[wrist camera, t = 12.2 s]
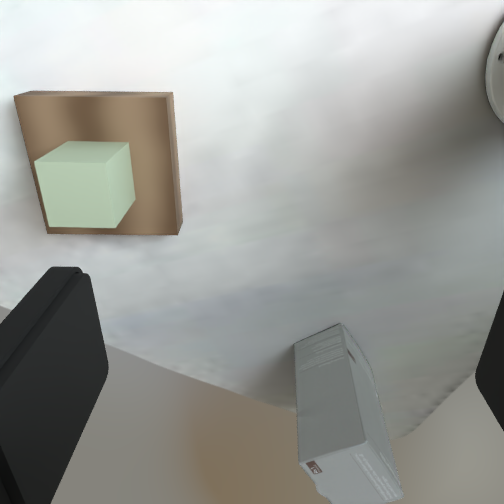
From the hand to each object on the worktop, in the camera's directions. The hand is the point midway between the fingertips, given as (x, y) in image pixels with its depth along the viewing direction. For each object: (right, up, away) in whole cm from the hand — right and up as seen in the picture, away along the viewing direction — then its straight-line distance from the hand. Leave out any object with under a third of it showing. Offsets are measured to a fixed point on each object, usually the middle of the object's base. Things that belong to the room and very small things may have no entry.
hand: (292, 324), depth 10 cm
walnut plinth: (-14, +10, +29) cm, 33 cm away
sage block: (-14, +9, +26) cm, 31 cm away
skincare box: (+8, -10, +40) cm, 42 cm away
